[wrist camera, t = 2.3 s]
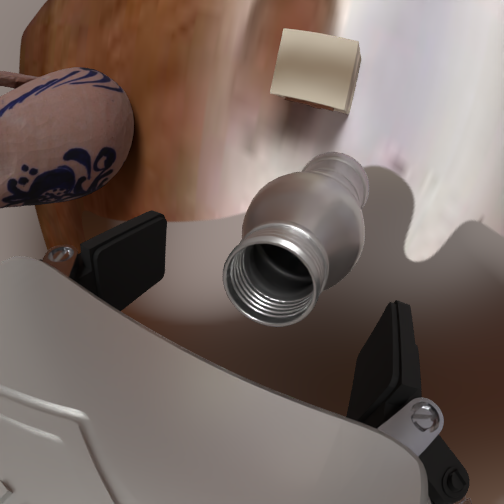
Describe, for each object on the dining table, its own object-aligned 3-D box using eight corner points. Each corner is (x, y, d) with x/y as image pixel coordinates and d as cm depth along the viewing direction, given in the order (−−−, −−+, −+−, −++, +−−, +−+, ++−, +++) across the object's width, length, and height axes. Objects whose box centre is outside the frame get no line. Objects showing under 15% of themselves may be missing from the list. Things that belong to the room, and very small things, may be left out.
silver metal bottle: (382, 186, 25) (401, 304, 8) (333, 227, 29) (266, 373, 12) (338, 136, 25) (267, 149, 8) (291, 181, 28) (164, 268, 12)
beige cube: (301, 46, 22) (283, 28, 17) (361, 59, 20) (358, 41, 15) (289, 102, 25) (269, 95, 20) (348, 117, 23) (343, 112, 18)
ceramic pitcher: (111, 203, 40) (-27, 272, 20) (65, 110, 37) (-58, 142, 16) (177, 133, 31) (-34, 187, 10) (114, 34, 28) (-42, 36, 7)
